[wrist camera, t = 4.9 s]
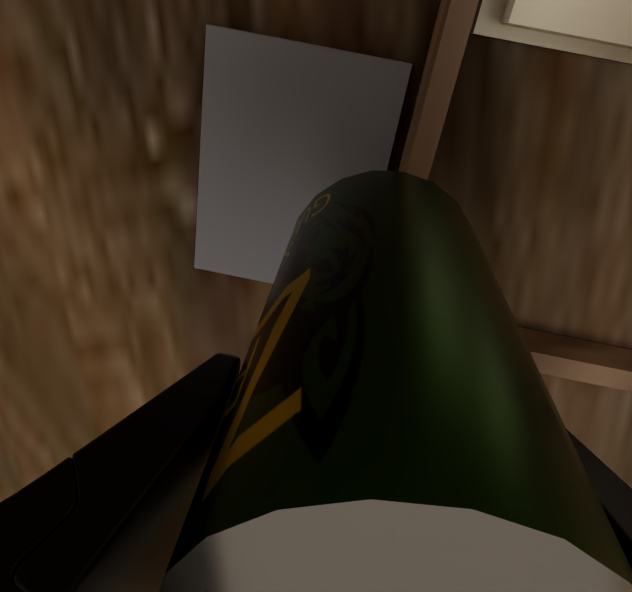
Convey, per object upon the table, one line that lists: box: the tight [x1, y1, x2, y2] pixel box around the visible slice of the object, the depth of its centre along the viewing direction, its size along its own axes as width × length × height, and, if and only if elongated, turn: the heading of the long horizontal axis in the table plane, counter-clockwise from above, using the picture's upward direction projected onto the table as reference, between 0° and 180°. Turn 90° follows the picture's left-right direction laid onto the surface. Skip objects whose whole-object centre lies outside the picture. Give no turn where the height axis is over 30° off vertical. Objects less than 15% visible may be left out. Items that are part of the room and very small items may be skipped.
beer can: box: [159, 170, 632, 592], centre depth 10 cm, size 5×5×12 cm
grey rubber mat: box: [194, 24, 412, 284], centre depth 21 cm, size 8×10×1 cm
